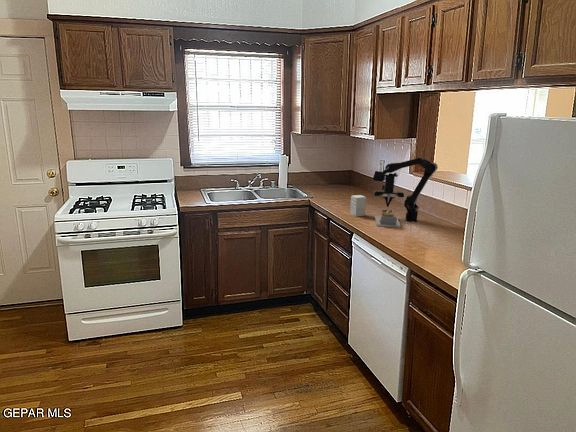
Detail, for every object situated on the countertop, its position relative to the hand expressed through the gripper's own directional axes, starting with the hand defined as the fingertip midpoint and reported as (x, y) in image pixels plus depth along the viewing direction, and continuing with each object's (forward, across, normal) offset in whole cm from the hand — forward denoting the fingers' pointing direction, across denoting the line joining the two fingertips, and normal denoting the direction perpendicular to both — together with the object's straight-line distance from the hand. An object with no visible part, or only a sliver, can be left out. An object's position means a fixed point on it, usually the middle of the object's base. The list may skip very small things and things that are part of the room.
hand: (387, 206), depth 287 cm
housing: (+5, +1, +20) cm, 20 cm away
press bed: (+7, +1, +14) cm, 16 cm away
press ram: (+5, +1, +13) cm, 14 cm away
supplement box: (+7, +19, -1) cm, 20 cm away
